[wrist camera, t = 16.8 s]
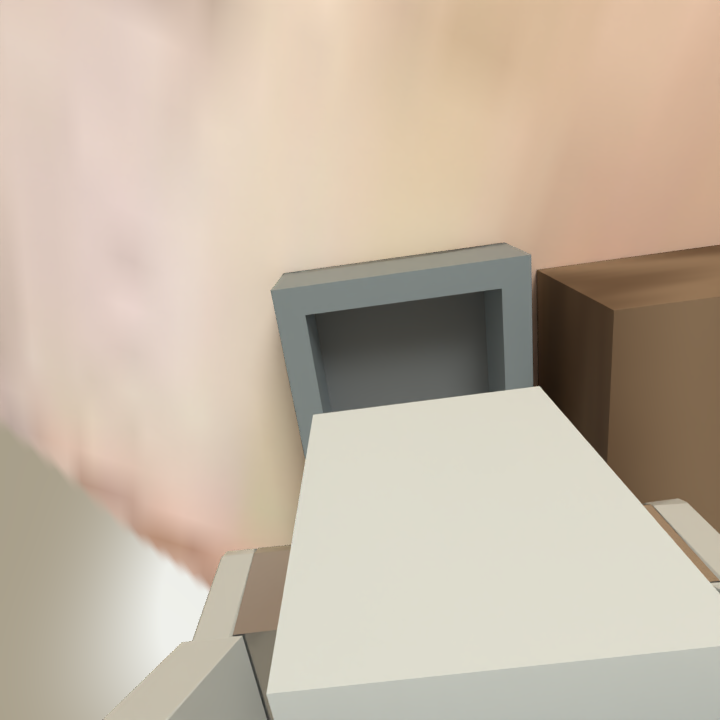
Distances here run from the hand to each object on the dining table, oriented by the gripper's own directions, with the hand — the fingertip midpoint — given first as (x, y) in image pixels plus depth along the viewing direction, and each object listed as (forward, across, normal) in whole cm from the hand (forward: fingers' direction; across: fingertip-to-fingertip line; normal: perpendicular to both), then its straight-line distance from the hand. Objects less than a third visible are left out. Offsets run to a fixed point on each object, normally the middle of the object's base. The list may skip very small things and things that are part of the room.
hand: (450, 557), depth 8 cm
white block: (+2, 0, 0) cm, 2 cm away
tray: (+9, 0, -4) cm, 10 cm away
